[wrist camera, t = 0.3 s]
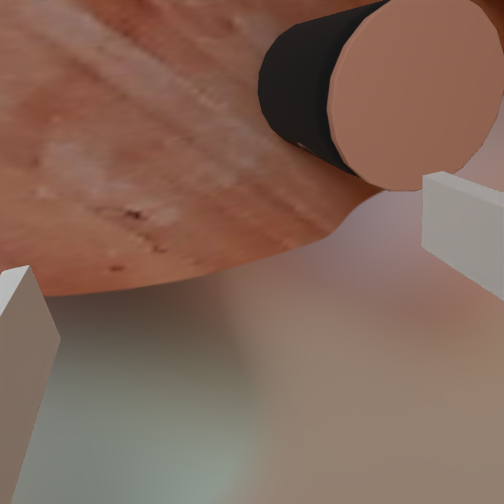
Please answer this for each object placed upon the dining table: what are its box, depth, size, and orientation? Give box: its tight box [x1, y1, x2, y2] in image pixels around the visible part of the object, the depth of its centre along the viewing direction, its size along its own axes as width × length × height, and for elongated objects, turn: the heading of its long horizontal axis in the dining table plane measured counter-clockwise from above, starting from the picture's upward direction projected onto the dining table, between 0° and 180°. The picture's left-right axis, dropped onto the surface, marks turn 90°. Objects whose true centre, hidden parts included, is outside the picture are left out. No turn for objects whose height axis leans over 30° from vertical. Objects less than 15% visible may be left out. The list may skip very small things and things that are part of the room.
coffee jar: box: [258, 0, 504, 191], centre depth 32 cm, size 11×11×18 cm
